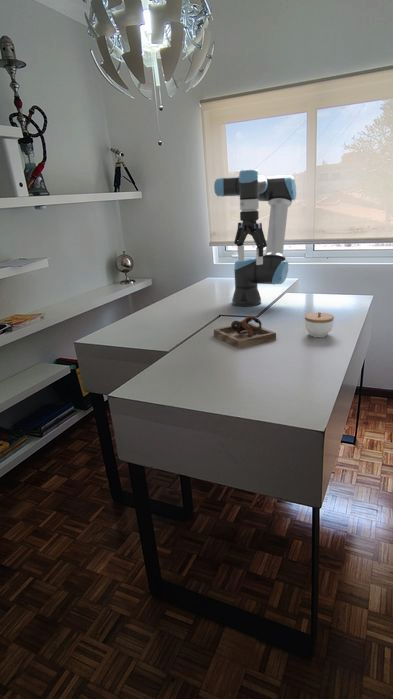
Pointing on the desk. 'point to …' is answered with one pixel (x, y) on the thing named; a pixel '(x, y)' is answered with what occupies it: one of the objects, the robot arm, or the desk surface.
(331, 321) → the lidded jar
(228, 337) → the walnut tray
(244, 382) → the desk surface
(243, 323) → the broken clay pot
